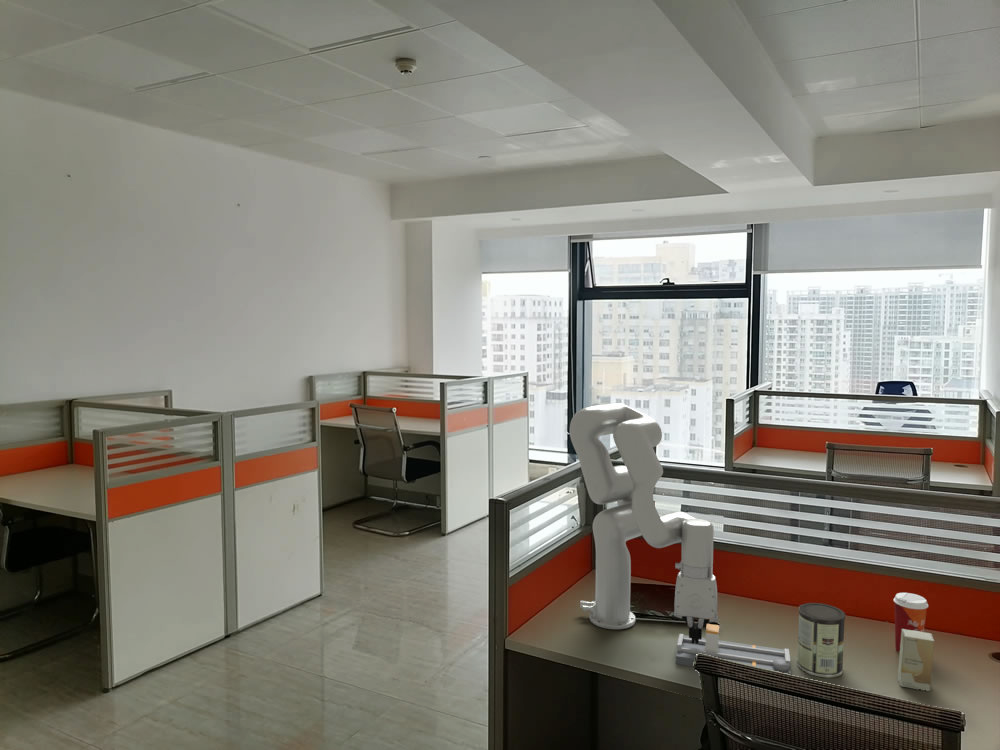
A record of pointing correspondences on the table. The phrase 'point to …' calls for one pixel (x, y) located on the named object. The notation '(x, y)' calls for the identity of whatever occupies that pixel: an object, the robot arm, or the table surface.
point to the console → (735, 654)
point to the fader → (712, 638)
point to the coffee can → (821, 639)
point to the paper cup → (909, 614)
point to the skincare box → (915, 659)
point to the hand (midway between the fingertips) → (695, 641)
